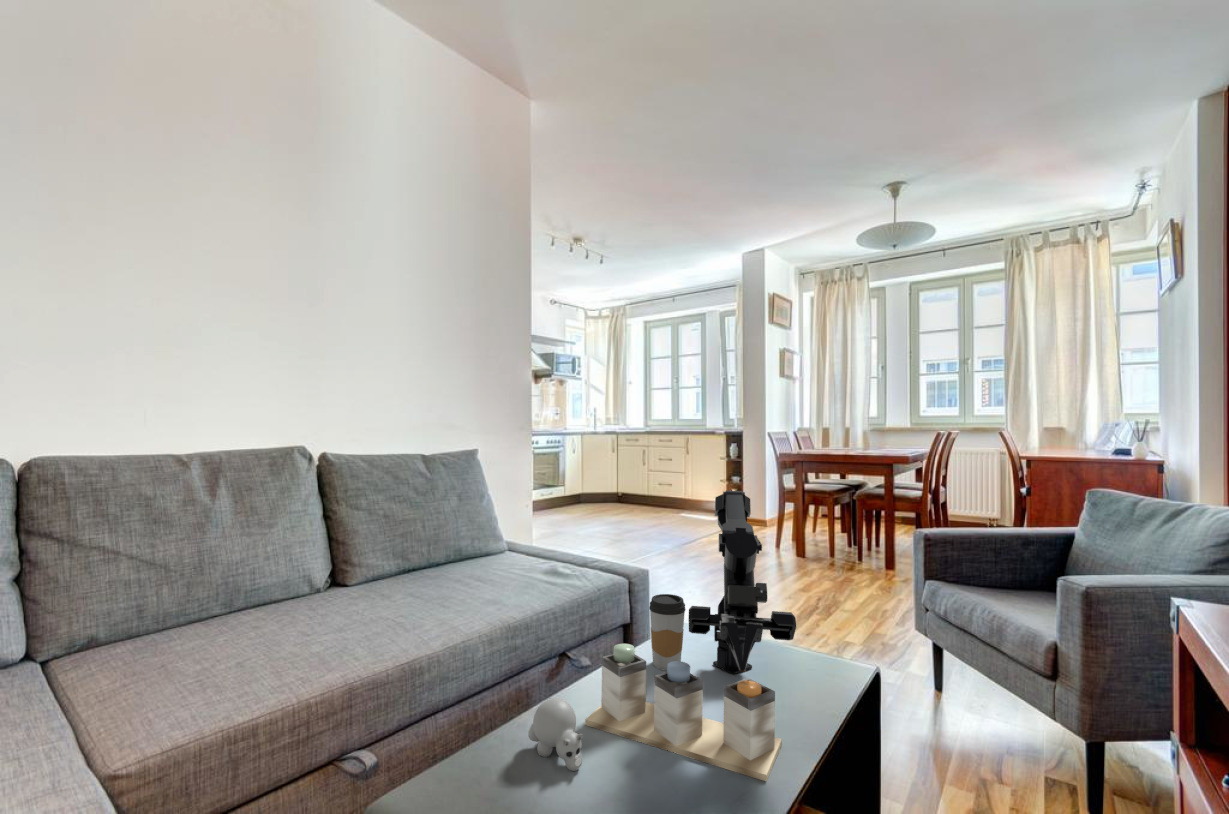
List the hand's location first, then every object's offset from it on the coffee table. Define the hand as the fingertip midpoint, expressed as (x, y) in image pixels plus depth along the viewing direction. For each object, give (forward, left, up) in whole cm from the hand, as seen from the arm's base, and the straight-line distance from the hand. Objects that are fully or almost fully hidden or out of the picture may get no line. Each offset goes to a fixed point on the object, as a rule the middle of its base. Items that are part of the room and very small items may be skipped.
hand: (742, 670), depth 97 cm
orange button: (-1, +1, -4) cm, 5 cm away
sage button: (+10, -21, -3) cm, 23 cm away
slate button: (+7, -9, -3) cm, 11 cm away
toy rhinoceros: (+27, -16, -14) cm, 34 cm away
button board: (+5, -10, -14) cm, 17 cm away
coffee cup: (-11, -33, -14) cm, 38 cm away
